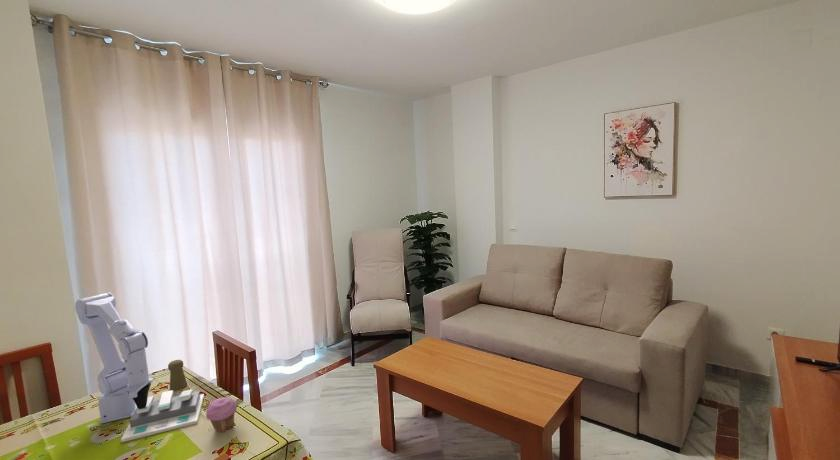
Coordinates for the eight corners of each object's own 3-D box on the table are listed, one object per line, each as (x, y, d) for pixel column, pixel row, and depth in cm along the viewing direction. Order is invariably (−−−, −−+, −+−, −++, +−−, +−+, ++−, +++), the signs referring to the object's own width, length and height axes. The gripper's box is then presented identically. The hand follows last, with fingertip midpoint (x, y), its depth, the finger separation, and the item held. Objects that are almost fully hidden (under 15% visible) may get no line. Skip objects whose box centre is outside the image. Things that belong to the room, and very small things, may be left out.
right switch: (178, 404, 130) (178, 398, 130) (183, 397, 137) (182, 391, 137) (189, 402, 131) (188, 395, 131) (193, 395, 138) (192, 388, 139)
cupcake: (223, 438, 118) (219, 409, 117) (202, 434, 121) (198, 405, 119) (244, 421, 126) (241, 394, 125) (224, 417, 129) (221, 390, 128)
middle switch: (158, 413, 128) (157, 407, 127) (163, 397, 135) (162, 392, 134) (169, 410, 129) (168, 405, 129) (173, 395, 136) (172, 389, 136)
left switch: (137, 416, 125) (136, 410, 125) (143, 403, 133) (142, 397, 132) (148, 413, 127) (147, 407, 126) (154, 401, 134) (153, 395, 134)
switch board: (121, 442, 118) (119, 432, 118) (137, 411, 135) (136, 402, 134) (197, 423, 127) (196, 413, 126) (204, 396, 143) (203, 387, 143)
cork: (178, 391, 147) (175, 365, 146) (165, 390, 148) (162, 364, 147) (190, 383, 153) (187, 358, 152) (178, 382, 154) (175, 357, 153)
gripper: (145, 376, 120) (151, 415, 121) (156, 357, 133) (161, 393, 134) (118, 381, 117) (124, 421, 118) (132, 362, 130) (137, 398, 132)
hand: (142, 407), depth 126 cm, fingers closed
